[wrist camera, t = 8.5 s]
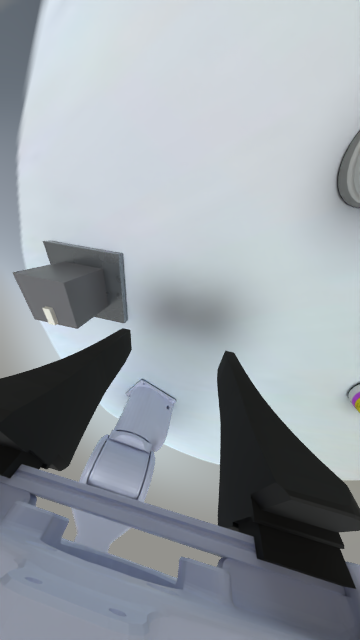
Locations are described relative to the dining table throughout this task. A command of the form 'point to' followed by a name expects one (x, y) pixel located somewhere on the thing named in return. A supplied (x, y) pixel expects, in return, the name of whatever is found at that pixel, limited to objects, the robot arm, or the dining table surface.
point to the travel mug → (351, 174)
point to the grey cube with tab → (63, 293)
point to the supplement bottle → (355, 397)
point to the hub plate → (97, 259)
